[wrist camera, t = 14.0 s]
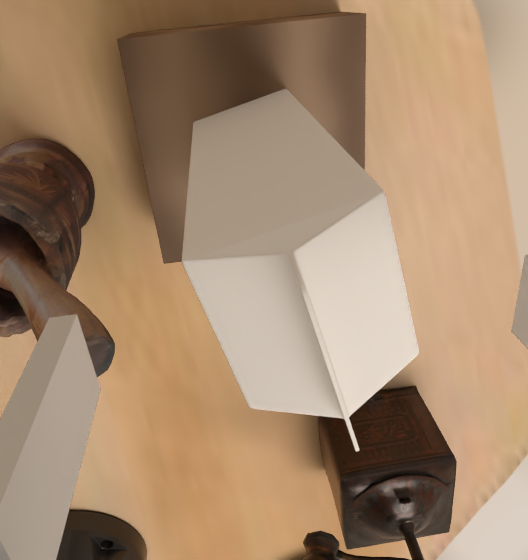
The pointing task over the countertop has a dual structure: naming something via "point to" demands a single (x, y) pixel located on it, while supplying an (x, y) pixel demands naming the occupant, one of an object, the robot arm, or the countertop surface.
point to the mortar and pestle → (45, 242)
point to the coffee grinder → (385, 476)
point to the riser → (237, 91)
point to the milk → (294, 261)
